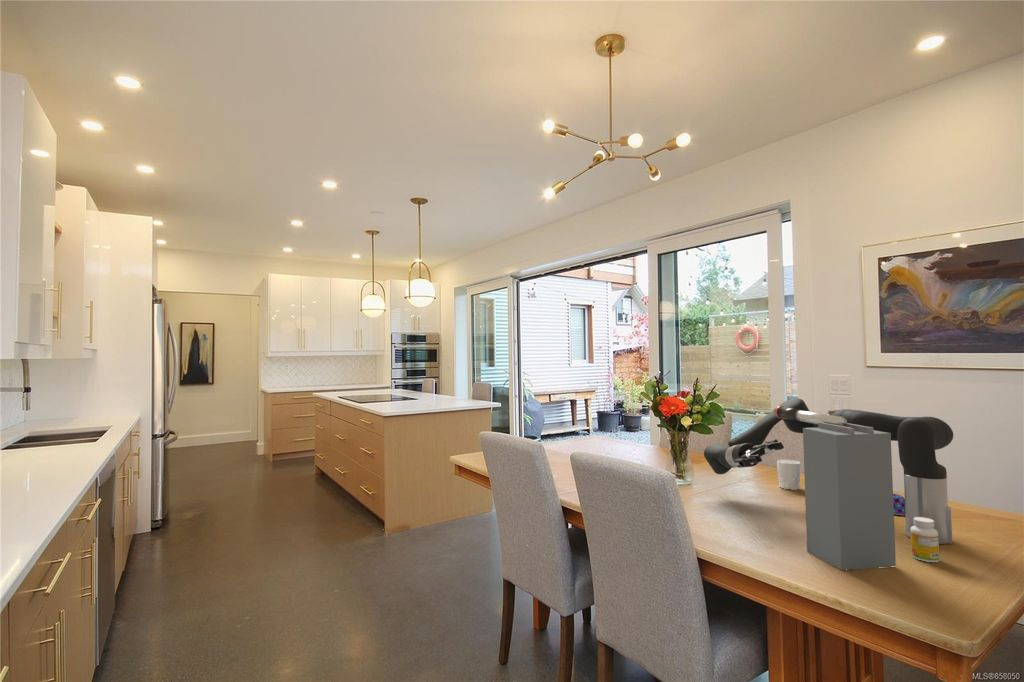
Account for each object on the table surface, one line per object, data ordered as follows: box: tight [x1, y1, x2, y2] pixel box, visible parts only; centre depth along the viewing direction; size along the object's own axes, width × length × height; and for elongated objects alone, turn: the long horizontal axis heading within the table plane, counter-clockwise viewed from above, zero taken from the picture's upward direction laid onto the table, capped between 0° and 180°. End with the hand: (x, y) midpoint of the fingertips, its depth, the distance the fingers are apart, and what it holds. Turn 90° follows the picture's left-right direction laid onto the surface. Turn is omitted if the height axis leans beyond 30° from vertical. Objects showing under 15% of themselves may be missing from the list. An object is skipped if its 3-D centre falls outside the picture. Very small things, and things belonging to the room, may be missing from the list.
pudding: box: [893, 493, 905, 516], centre depth 163 cm, size 12×12×5 cm
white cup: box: [776, 459, 801, 491], centre depth 192 cm, size 8×8×10 cm
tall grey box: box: [802, 422, 897, 571], centre depth 126 cm, size 12×14×33 cm
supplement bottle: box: [910, 517, 940, 564], centre depth 125 cm, size 5×5×10 cm
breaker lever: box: [773, 405, 847, 427], centre depth 140 cm, size 25×4×4 cm, turn 5°
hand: (770, 451), depth 152 cm, fingers open, 8 cm apart
